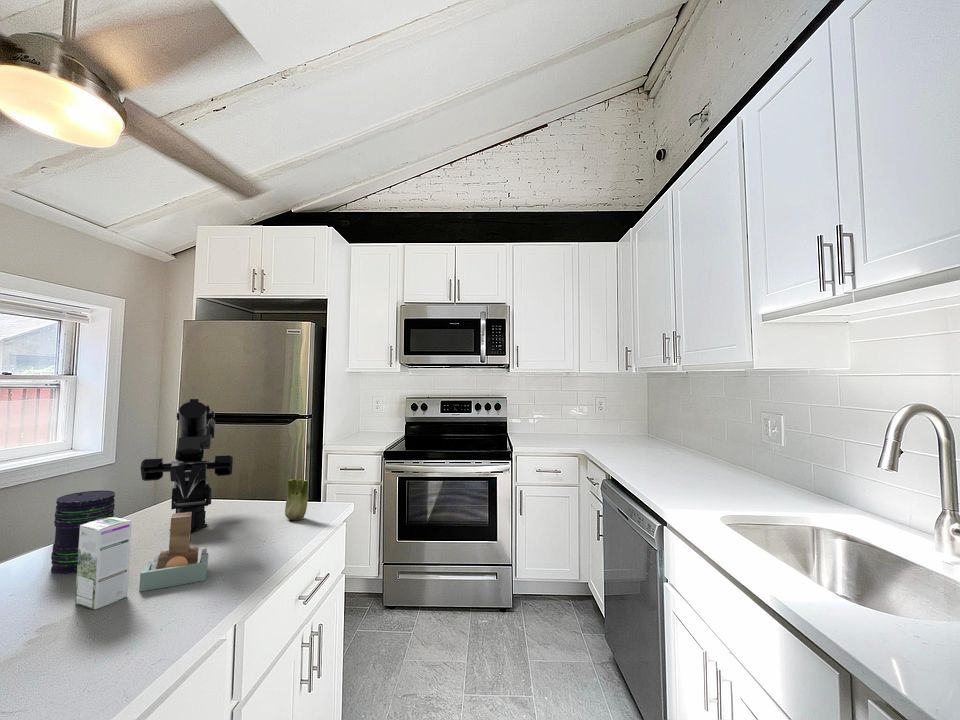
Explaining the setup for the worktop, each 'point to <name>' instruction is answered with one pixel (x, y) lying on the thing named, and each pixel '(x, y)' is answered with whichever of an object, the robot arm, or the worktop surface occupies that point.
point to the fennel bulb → (296, 500)
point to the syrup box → (103, 562)
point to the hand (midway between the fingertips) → (185, 497)
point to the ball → (176, 562)
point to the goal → (172, 575)
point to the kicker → (179, 541)
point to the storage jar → (76, 525)
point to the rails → (155, 561)
